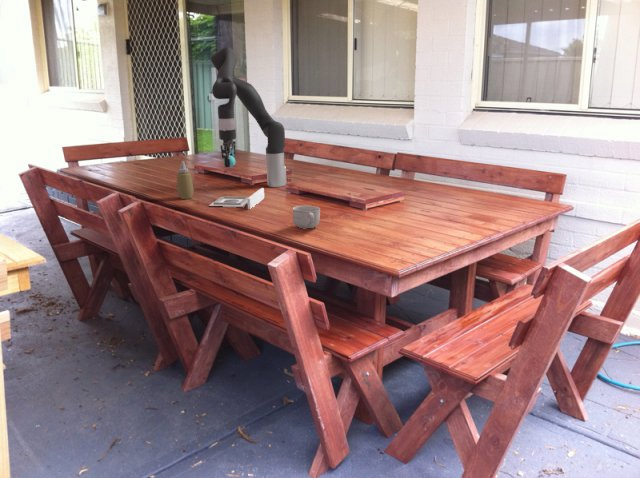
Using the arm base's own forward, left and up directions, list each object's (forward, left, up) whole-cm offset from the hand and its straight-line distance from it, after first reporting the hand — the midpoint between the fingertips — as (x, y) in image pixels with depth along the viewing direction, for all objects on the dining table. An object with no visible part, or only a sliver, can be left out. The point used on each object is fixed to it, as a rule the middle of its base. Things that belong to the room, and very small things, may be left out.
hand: (229, 165), depth 274 cm
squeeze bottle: (+6, -27, -18) cm, 33 cm away
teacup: (+11, +57, -18) cm, 61 cm away
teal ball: (0, 0, +2) cm, 2 cm away
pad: (0, 0, -17) cm, 17 cm away
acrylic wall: (-6, +10, -17) cm, 21 cm away
